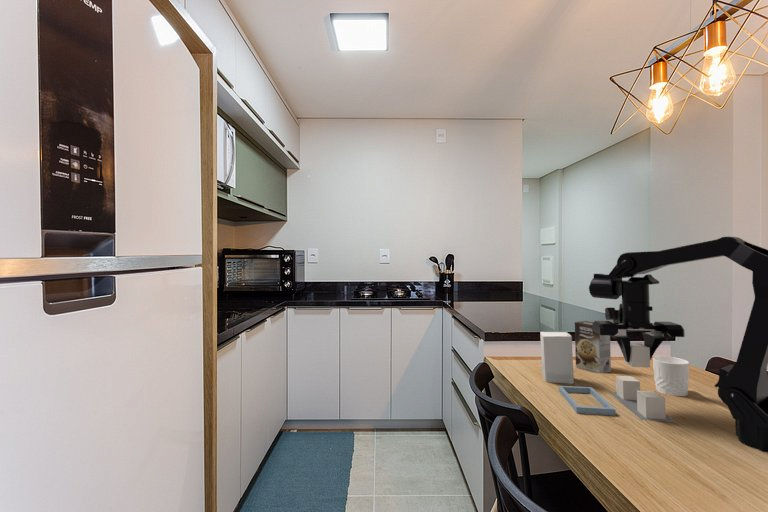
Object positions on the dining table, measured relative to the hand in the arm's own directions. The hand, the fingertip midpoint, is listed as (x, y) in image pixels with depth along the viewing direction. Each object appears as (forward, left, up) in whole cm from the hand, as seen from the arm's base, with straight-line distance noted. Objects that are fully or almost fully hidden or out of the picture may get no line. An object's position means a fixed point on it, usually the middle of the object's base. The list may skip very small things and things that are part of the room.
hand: (636, 362), depth 88 cm
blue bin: (0, +12, -12) cm, 17 cm away
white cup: (+11, -14, -12) cm, 22 cm away
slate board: (0, 0, -12) cm, 12 cm away
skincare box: (+17, +14, -12) cm, 26 cm away
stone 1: (0, 0, -1) cm, 1 cm away
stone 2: (+5, 0, -11) cm, 12 cm away
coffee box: (+33, -2, -12) cm, 36 cm away
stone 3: (-6, 0, -11) cm, 12 cm away
